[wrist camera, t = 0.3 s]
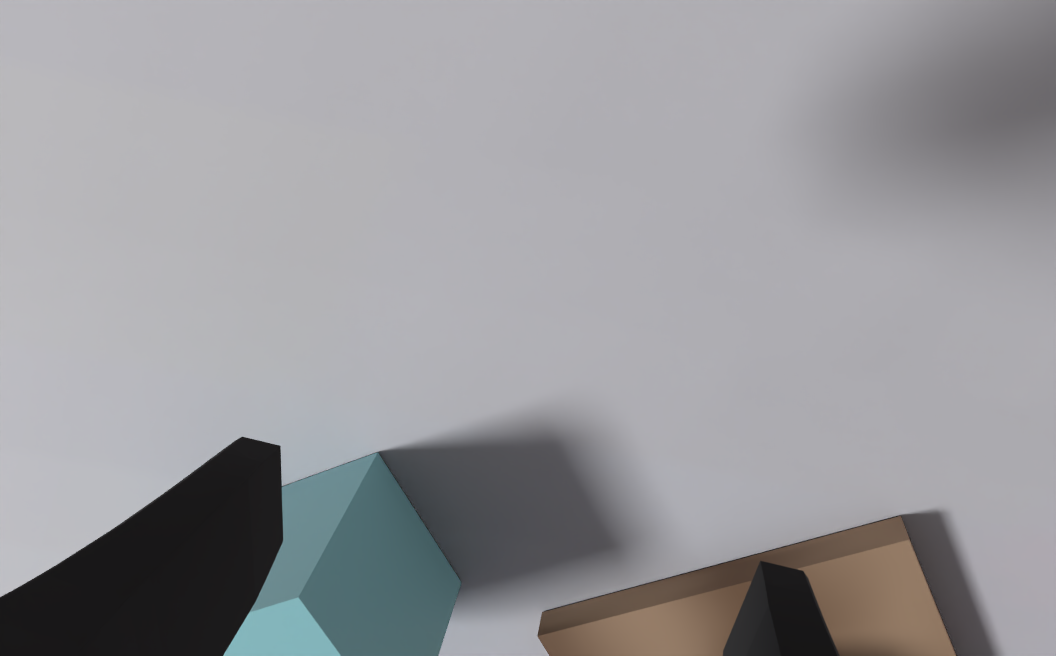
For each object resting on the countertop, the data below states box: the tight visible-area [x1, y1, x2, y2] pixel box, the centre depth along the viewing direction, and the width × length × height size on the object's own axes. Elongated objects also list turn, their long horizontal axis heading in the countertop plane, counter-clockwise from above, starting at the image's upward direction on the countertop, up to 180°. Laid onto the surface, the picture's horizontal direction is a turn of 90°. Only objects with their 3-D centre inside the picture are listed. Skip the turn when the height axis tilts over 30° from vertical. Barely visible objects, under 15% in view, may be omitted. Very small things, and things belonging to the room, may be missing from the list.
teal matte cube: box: [223, 452, 461, 656], centre depth 25 cm, size 5×5×6 cm
